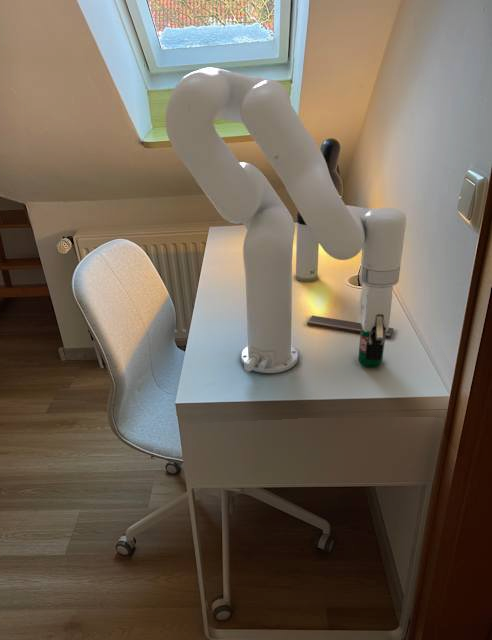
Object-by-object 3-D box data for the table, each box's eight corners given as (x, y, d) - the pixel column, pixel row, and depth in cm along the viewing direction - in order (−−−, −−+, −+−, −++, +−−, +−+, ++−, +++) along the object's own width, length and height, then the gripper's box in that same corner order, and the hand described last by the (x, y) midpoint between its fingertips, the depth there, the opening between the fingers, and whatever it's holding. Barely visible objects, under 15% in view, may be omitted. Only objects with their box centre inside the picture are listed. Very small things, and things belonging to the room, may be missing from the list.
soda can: (354, 365, 118) (358, 315, 112) (363, 354, 121) (367, 306, 115) (377, 371, 115) (382, 321, 109) (385, 360, 119) (391, 311, 113)
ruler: (390, 338, 127) (390, 335, 126) (307, 325, 135) (307, 322, 134) (393, 331, 130) (393, 327, 129) (312, 318, 138) (312, 315, 137)
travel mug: (317, 282, 156) (320, 213, 146) (294, 281, 157) (296, 213, 147) (319, 273, 161) (322, 206, 151) (296, 273, 163) (298, 206, 152)
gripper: (355, 257, 115) (349, 332, 125) (365, 291, 101) (358, 373, 110) (391, 256, 114) (382, 332, 124) (407, 291, 100) (396, 374, 109)
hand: (371, 351), depth 117 cm, fingers closed on soda can, 5 cm apart
